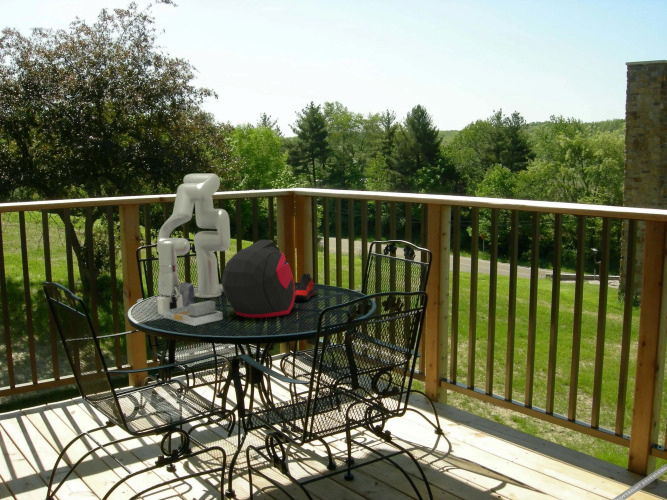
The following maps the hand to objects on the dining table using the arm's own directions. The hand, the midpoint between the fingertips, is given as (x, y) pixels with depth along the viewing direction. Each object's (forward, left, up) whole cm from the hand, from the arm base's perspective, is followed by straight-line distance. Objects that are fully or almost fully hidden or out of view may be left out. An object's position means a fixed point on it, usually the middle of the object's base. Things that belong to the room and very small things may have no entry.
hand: (170, 309), depth 283 cm
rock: (-12, -6, -1) cm, 13 cm away
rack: (+1, +18, -1) cm, 18 cm away
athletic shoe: (-56, +26, -1) cm, 62 cm away
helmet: (-23, +32, -1) cm, 39 cm away
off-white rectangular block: (0, 0, -1) cm, 1 cm away
